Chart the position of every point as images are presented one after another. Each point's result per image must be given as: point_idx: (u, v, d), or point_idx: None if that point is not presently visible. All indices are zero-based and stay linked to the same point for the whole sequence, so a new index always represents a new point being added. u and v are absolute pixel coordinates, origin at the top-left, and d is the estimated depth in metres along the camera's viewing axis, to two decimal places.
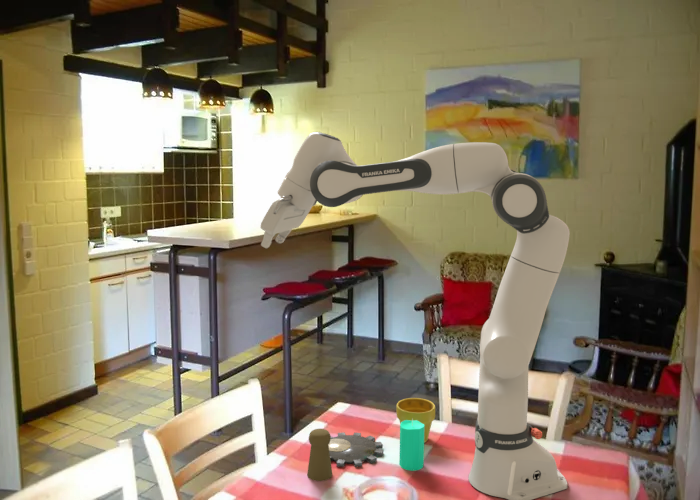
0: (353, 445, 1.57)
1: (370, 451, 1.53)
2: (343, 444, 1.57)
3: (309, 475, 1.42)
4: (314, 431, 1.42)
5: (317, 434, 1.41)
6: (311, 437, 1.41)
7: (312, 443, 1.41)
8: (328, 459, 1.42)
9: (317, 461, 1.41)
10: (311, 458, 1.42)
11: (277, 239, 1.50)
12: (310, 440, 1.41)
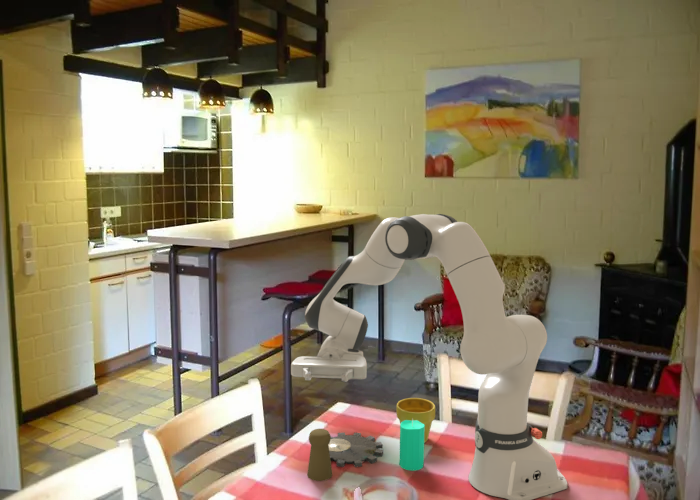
0: (353, 445, 1.57)
1: (370, 451, 1.53)
2: (343, 444, 1.57)
3: (309, 475, 1.42)
4: (314, 431, 1.42)
5: (317, 434, 1.41)
6: (311, 437, 1.41)
7: (312, 443, 1.41)
8: (328, 459, 1.42)
9: (317, 461, 1.41)
10: (311, 458, 1.42)
11: None
12: (310, 440, 1.41)
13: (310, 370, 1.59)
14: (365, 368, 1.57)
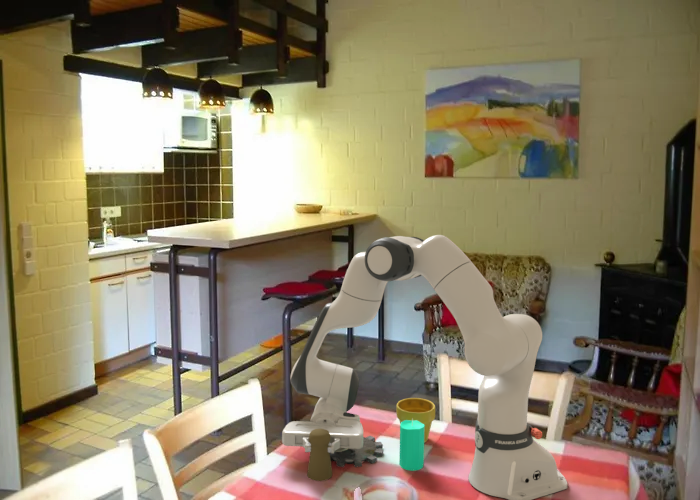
0: None
1: (370, 451, 1.53)
2: None
3: (309, 475, 1.42)
4: (314, 431, 1.42)
5: (317, 434, 1.41)
6: (311, 437, 1.41)
7: (312, 443, 1.41)
8: (328, 459, 1.42)
9: (317, 461, 1.41)
10: (311, 458, 1.42)
11: None
12: (310, 440, 1.41)
13: None
14: (362, 437, 1.46)
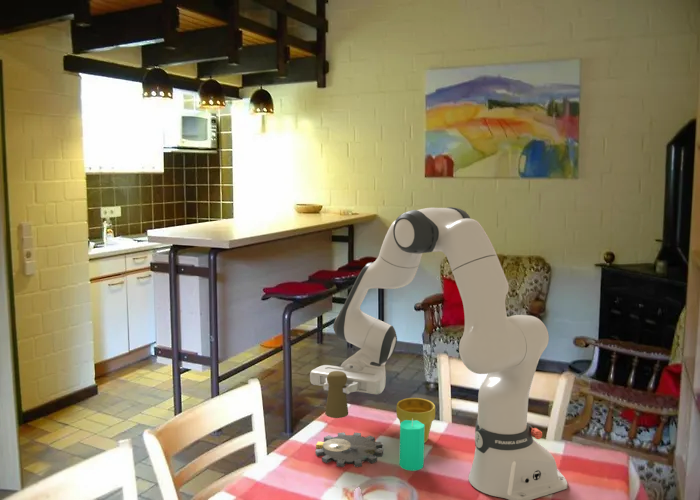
0: (353, 445, 1.57)
1: (370, 451, 1.53)
2: (343, 444, 1.57)
3: (325, 412, 1.55)
4: (332, 372, 1.54)
5: (332, 375, 1.53)
6: (327, 377, 1.53)
7: (328, 382, 1.53)
8: (343, 399, 1.53)
9: (332, 399, 1.53)
10: (328, 396, 1.54)
11: None
12: (327, 379, 1.54)
13: None
14: (378, 383, 1.55)
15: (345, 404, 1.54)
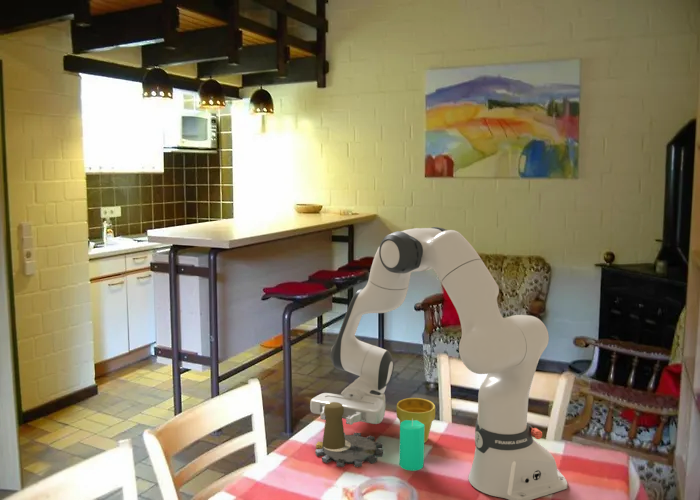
0: (353, 445, 1.57)
1: (370, 451, 1.53)
2: None
3: (323, 443, 1.56)
4: (329, 403, 1.56)
5: (330, 406, 1.54)
6: (325, 408, 1.55)
7: (325, 414, 1.55)
8: (340, 431, 1.55)
9: (329, 431, 1.54)
10: (325, 427, 1.56)
11: None
12: (324, 411, 1.55)
13: None
14: (378, 413, 1.56)
15: (342, 435, 1.55)
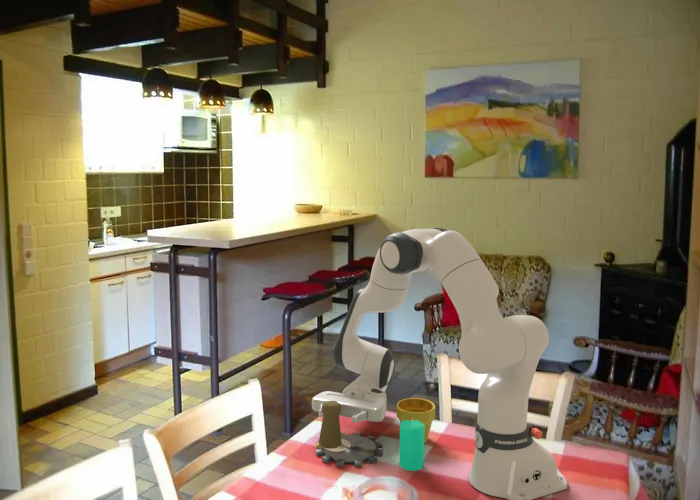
0: (353, 445, 1.57)
1: (370, 451, 1.53)
2: (343, 444, 1.57)
3: (319, 441, 1.57)
4: (327, 402, 1.57)
5: (327, 405, 1.55)
6: (322, 406, 1.56)
7: (323, 412, 1.55)
8: (337, 429, 1.55)
9: (326, 429, 1.55)
10: (322, 426, 1.56)
11: None
12: (322, 409, 1.56)
13: None
14: (379, 411, 1.57)
15: (339, 434, 1.56)
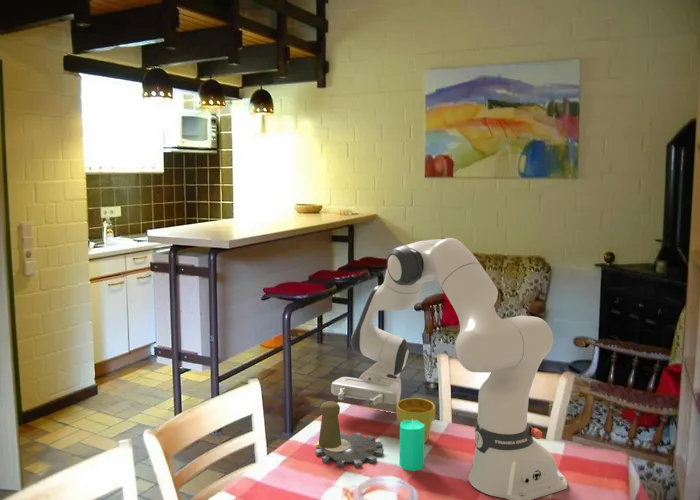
0: (353, 445, 1.57)
1: (370, 451, 1.53)
2: (343, 444, 1.57)
3: (319, 442, 1.57)
4: (325, 403, 1.56)
5: (326, 406, 1.55)
6: (321, 408, 1.55)
7: (321, 413, 1.55)
8: (336, 430, 1.55)
9: (325, 430, 1.55)
10: (321, 427, 1.56)
11: None
12: (320, 410, 1.56)
13: (347, 390, 1.74)
14: (395, 394, 1.69)
15: (338, 434, 1.56)
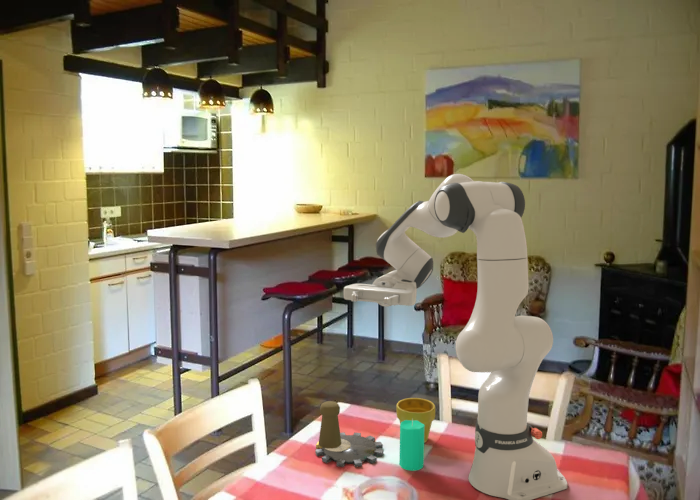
0: (353, 445, 1.57)
1: (370, 451, 1.53)
2: (343, 444, 1.57)
3: (319, 442, 1.57)
4: (325, 403, 1.56)
5: (326, 406, 1.55)
6: (321, 408, 1.55)
7: (321, 413, 1.55)
8: (336, 430, 1.55)
9: (325, 430, 1.55)
10: (321, 427, 1.56)
11: None
12: (320, 410, 1.56)
13: (360, 294, 1.66)
14: (411, 295, 1.61)
15: (338, 434, 1.56)
